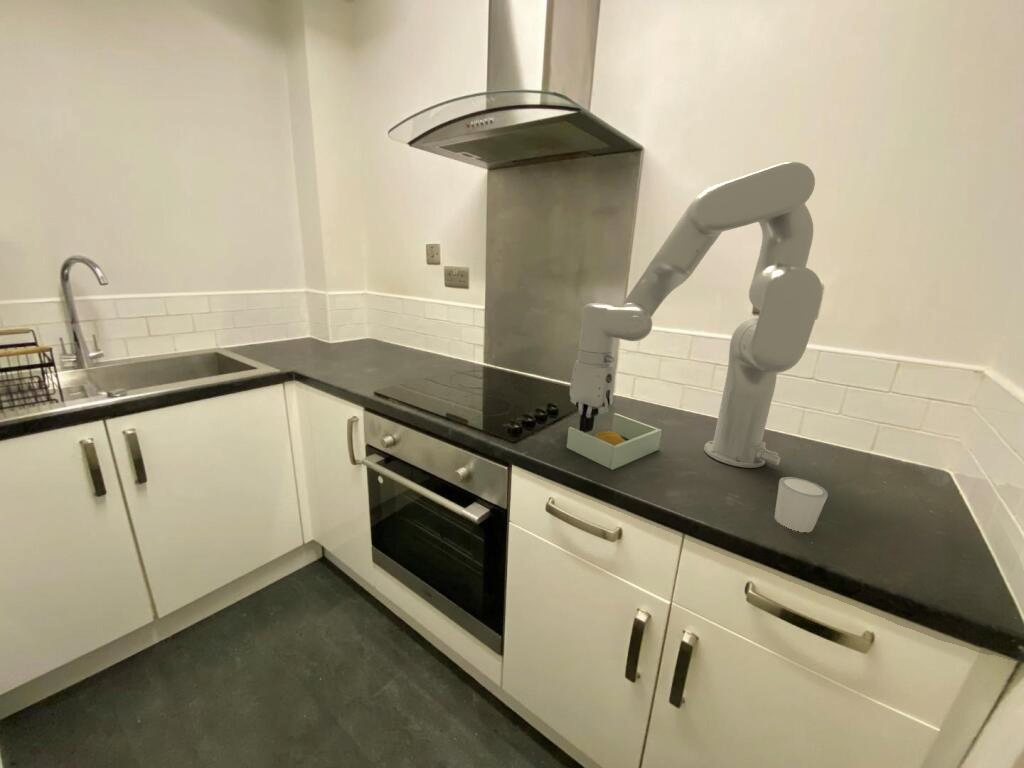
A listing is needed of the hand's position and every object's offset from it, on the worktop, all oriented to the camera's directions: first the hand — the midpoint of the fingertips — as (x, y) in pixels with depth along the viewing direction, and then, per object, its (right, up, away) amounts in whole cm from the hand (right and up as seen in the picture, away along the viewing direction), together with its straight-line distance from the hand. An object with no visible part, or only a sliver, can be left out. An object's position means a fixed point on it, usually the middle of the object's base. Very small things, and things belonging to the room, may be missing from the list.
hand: (585, 430), depth 102 cm
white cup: (+30, -13, -31) cm, 45 cm away
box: (+5, -4, -5) cm, 8 cm away
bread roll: (+4, -4, -6) cm, 8 cm away
